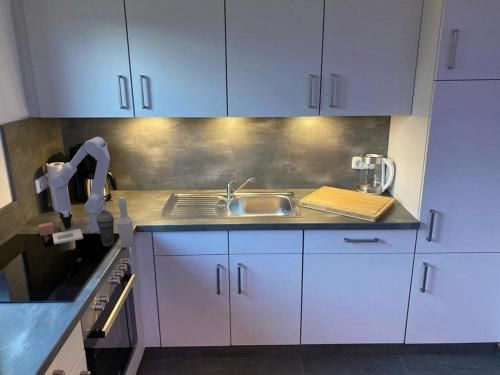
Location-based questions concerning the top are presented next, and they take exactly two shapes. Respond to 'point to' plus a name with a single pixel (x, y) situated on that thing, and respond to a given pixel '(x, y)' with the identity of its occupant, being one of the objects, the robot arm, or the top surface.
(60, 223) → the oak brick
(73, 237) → the baseplate
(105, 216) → the beverage cup
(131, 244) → the faceted bottle
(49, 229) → the rust brick
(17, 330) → the top surface
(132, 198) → the top surface
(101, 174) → the robot arm
